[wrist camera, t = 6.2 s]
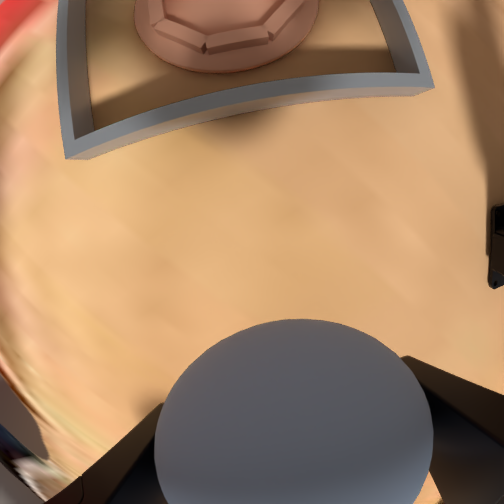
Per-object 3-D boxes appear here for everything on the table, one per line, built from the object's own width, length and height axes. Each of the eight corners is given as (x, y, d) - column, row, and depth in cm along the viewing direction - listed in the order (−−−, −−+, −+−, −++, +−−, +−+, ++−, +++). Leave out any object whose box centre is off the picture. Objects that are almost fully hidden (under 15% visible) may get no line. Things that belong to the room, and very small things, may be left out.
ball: (374, 255, 7) (546, 399, 2) (375, 411, 9) (432, 543, 3) (153, 300, 8) (38, 489, 2) (213, 442, 9) (199, 585, 3)
